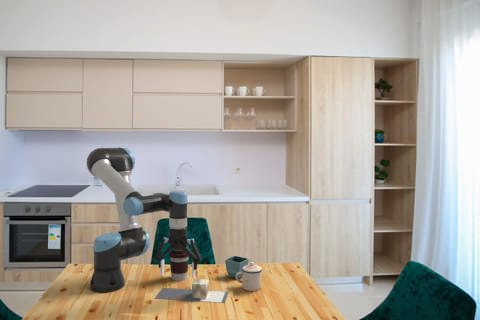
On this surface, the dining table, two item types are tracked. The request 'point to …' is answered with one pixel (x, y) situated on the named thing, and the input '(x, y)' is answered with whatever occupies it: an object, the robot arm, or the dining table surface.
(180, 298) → the charcoal mat
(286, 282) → the dining table surface
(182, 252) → the coffee cup
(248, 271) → the teacup with lid
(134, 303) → the dining table surface
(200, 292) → the birch cube
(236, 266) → the flower pot
